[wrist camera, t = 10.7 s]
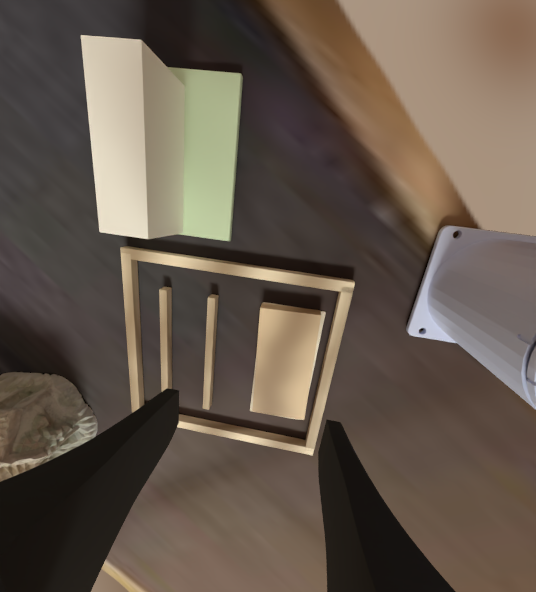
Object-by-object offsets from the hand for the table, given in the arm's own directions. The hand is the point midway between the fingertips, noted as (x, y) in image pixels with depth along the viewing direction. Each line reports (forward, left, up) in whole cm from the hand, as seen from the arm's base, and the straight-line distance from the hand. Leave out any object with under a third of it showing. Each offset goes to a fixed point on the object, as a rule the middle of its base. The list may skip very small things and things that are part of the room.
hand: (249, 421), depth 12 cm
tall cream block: (+9, -12, -9) cm, 17 cm away
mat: (+9, -12, -9) cm, 18 cm away
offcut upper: (-1, +2, -9) cm, 10 cm away
